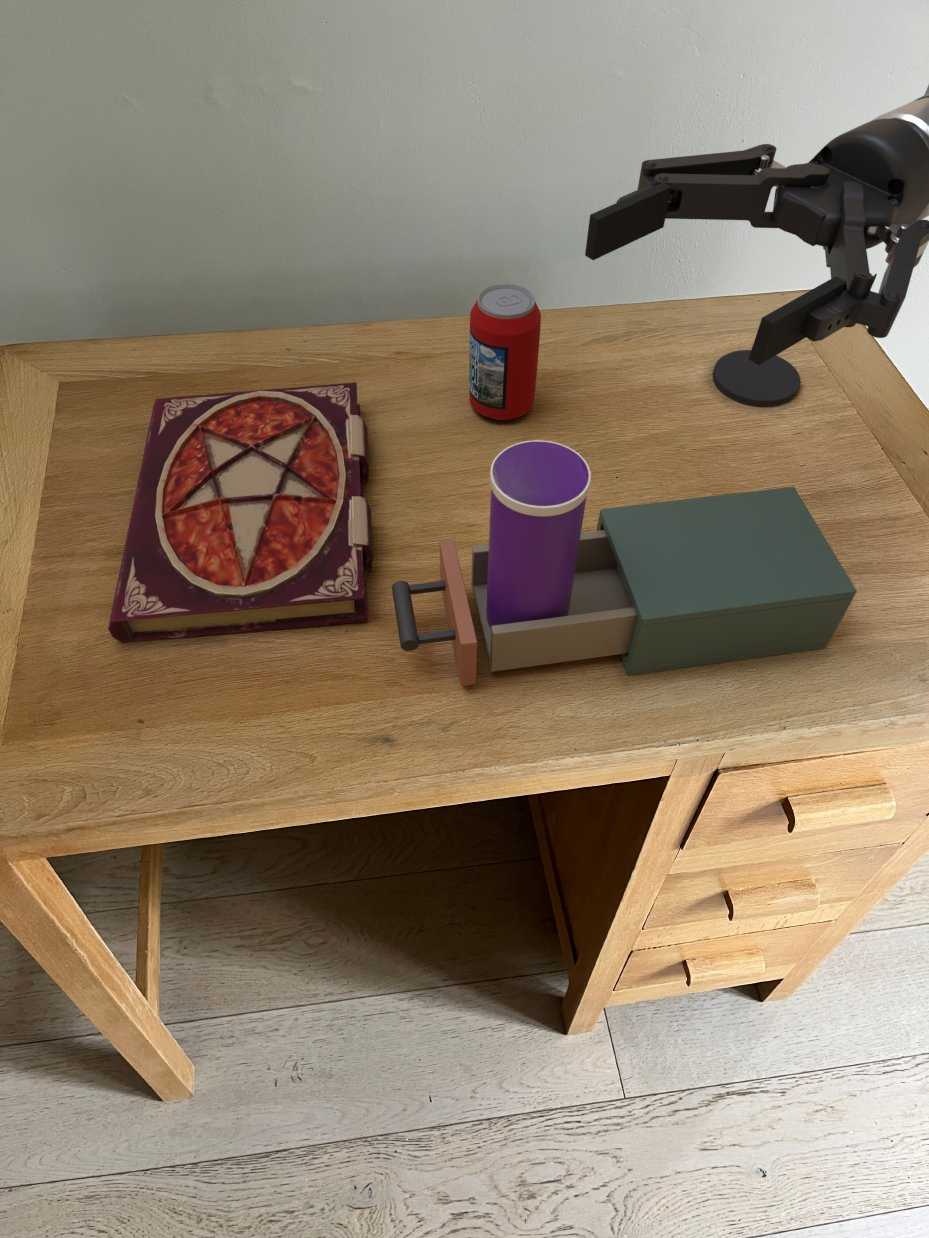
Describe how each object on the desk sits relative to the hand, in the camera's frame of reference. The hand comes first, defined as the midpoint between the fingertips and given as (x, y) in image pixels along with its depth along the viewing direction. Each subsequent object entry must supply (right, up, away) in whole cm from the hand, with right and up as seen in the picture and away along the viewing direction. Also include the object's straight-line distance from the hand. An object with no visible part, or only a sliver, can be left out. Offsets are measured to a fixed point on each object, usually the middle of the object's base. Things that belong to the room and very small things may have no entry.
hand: (670, 287), depth 51 cm
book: (-31, -10, +28) cm, 43 cm away
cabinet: (+8, -19, +21) cm, 29 cm away
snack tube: (-7, -19, +18) cm, 27 cm away
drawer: (-8, -20, +19) cm, 29 cm away
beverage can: (-8, +2, +38) cm, 39 cm away
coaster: (+19, +6, +41) cm, 45 cm away
